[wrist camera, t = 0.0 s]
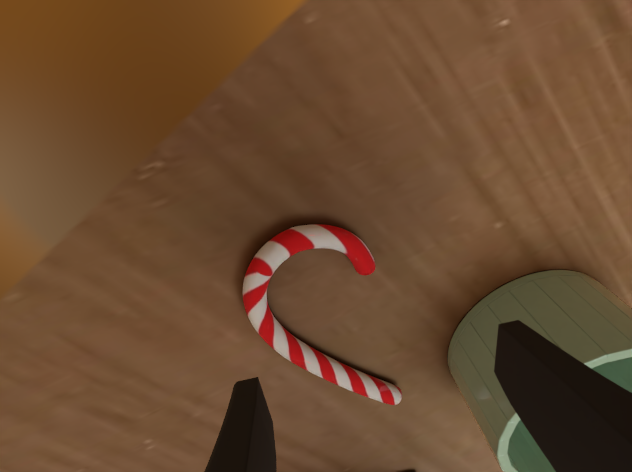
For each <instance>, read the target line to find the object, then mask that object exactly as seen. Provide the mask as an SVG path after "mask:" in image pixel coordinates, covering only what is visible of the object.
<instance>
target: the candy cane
mask: <svg viewBox="0 0 632 472" xmlns="http://www.w3.org/2000/svg"><path fill="white" fill-rule="evenodd" d="M314 248H329V249H335V250H338V251H340V252H342V253H344V254H345V255H346V256H347V257H348V258H349V259H350V260H351V262H352V264H353V266H354V268H355V270H356V271H357V272H358V273H359V274H361V275H369V274H371V273H373V272H374V270H375V261H374V259H373V256H372V254H371V253H370V251H369V249H368V248H367V246H366V245H365V244H364V243H363V241H362V240H361V239H360V238H358V237H357V236H356V235H354V234H353V233H351V232H349V231H347V230H345V229H342V228H339V227H336V226H331V225H322V224H310V225H301V226H296V227H292V228H290V229H287V230H285V231H283V232H281V233H279V234H278V235H276V236H275V237H273V238H272V239H271V240H269V241H268V242H267V243H266V244H265V245H264V246H263V247H262V248H261V249H260V250H259V251H258V252H257V254H256V255H255V256H254V258H253V259H252V261H251V263H250V265H249V267H248V269H247V272H246V275H245V278H244V283H243V302H244V306H245V310H246V313H247V315H248V318H249V320H250V322H251V324H252V325H253V327H254V328H255V330H256V331H257V332H258V334H259V335H260V336H261V337H262V338H263V339H264V341H265V342H266V343H268V344H269V345H270V346H271V347H272V348H273V349H274V350H275V351H277V352H278V353H279V354H281V355H282V356H283V357H285V358H286V359H288V360H289V361H291V362H293V363H294V364H296V365H298V366H300V367H301V368H303V369H305V370H307V371H309V372H311V373H313V374H315V375H317V376H319V377H321V378H323V379H325V380H328V381H330V382H332V383H334V384H336V385H339V386H341V387H343V388H346V389H348V390H350V391H353V392H355V393H358V394H361V395H363V396H366V397H369V398H371V399H374V400H377V401H380V402H383V403H387V404H391V405H397V404H399V402H400V401H401V399H402V392H401V389H400V388H399V387H397V386H395V385H393V384H390V383H388V382H385V381H383V380H380V379H377V378H375V377H372V376H370V375H367V374H365V373H362V372H360V371H358V370H355V369H353V368H351V367H349V366H347V365H344V364H342V363H340V362H338V361H336V360H334V359H332V358H330V357H328V356H326V355H324V354H323V353H321V352H319V351H317V350H315V349H313V348H312V347H310V346H308V345H306V344H305V343H303V342H302V341H300V340H299V339H297V338H296V337H294V336H293V335H292V334H290V333H289V332H288V331H287V330H286V329H285V328H284V327H283V326H282V325H281V324H280V323H279V322H278V321H277V320H276V318H275V317H274V316H273V314H272V312H271V310H270V308H269V305H268V301H267V288H268V284H269V281H270V279H271V277H272V275H273V273H274V272H275V270H276V269H277V268H278V267H279V265H280V264H282V263H283V262H284V261H285V260H286V259H288V258H289V257H291V256H292V255H294V254H295V253H298V252H300V251H303V250H308V249H314Z"/></svg>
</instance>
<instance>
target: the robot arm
mask: <svg viewBox="0 0 632 472" xmlns="http://www.w3.org/2000/svg"><path fill="white" fill-rule="evenodd" d="M494 373H495V375H496V377H497V379H498V381H499V383H500V385H501V387H502V389H503V391H504V393H505V395H506V397H507V398H508V400H509V402H510V404H511V406H512V407H513V409H514V410H515V412H516V413H517V415H518V416H519V418H520V419H521V421H522V422H523V424H524V425H525V427H526V428H527V430H528V431H529V433H530V434H531V436H532V437H533V439H534V440H535V442H536V443H537V445H538V446H539V448H540V449H541V451H542V452H543V454H544V455H545V456H546V458H547V459H548V461H549V462H550V464H551V465H552V467H553V468H554V470H555V471H556V472H632V393H631V392H629V391H628V390H626V389H624V388H623V387H621V386H619V385H617V384H616V383H614V382H612V381H611V380H609V379H607V378H606V377H604V376H603V375H601V374H599V373H598V372H596V371H594V370H593V369H591V368H590V367H588V366H587V365H585V364H584V363H582V362H580V361H579V360H577V359H576V358H574V357H573V356H571V355H570V354H568V353H567V352H565V351H564V350H562V349H561V348H559V347H558V346H556V345H555V344H553V343H552V342H550V341H549V340H547V339H546V338H544V337H543V336H542V335H540V334H539V333H537V332H536V331H534V330H533V329H531V328H530V327H528V326H527V325H525V324H524V323H522V322H521V321H519V320H515V321H511V322H506V323H502V324H499V325H498V335H497V345H496V356H495V366H494ZM205 472H276V450H275V440H274V430H273V421H272V418H271V415H270V412H269V409H268V406H267V403H266V400H265V397H264V394H263V391H262V388H261V385H260V382H259V379H258V377H256V378H252V379H247V380H243V381H238V382H236V384H235V385H234V388H233V392H232V395H231V399H230V403H229V406H228V409H227V412H226V416H225V419H224V422H223V424H222V427H221V430H220V433H219V436H218V438H217V441H216V444H215V447H214V449H213V452H212V455H211V457H210V460H209V462H208V465H207V467H206V469H205Z"/></svg>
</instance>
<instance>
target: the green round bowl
mask: <svg viewBox="0 0 632 472" xmlns="http://www.w3.org/2000/svg"><path fill="white" fill-rule="evenodd" d="M515 320H519V321H521V322H522V323H524V324H525V325H527V326H528V327H530V328H531V329H533V330H534V331H536V332H537V333H539V334H540V335H542V336H543V337H544V338H546V339H547V340H549V341H550V342H552V343H553V344H555V345H556V346H558V347H559V348H561V349H562V350H564V351H565V352H567V353H568V354H570V355H571V356H573V357H574V358H576V359H577V360H579V361H580V362H582V363H584V364H585V365H587V366H588V367H590V368H591V369H593V370H594V371H596V372H598V373H599V374H601V375H603V376H604V377H606V378H607V379H609V380H611V381H612V382H614V383H616V384H617V385H619V386H621V387H623V388H624V389H626V390H628V391H629V392H631V393H632V308H631V307H630V306H628V305H627V304H626V303H625V302H623V301H622V300H621V299H620V298H618V297H617V296H616V295H615V294H613V293H612V292H611V291H610V290H608V289H607V288H606V287H604V286H603V285H602V284H601V283H599V282H598V281H597V280H595V279H594V278H592V277H591V276H589V275H586V274H583V273H580V272H576V271H571V270H549V271H542V272H537V273H533V274H530V275H526V276H524V277H521V278H518V279H515V280H513V281H511V282H509V283H507V284H505V285H503V286H501V287H500V288H498V289H496V290H495V291H493V292H492V293H490V294H489V295H487V296H486V297H485V298H483V299H482V300H481V301H480V302H479V303H478V304H476V305H475V306H474V307H473V308H472V309H471V310H470V311H469V312H468V314H467V315H466V316H465V317H464V318H463V320H462V321H461V322H460V324H459V325H458V327H457V329H456V330H455V332H454V334H453V337H452V339H451V341H450V345H449V349H448V367H449V371H450V373H451V375H452V377H453V379H454V381H455V384H456V386H457V388H458V390H459V392H460V394H461V395H462V397H463V399H464V401H465V403H466V405H467V407H468V408H469V410H470V412H471V414H472V416H473V418H474V420H475V421H476V423H477V425H478V427H479V429H480V431H481V433H482V434H483V436H484V438H485V440H486V442H487V444H488V446H489V447H490V449H491V451H492V453H493V455H494V457H495V459H496V460H497V462H498V464H499V466H500V468H501V469H502V471H503V472H556V471H555V470H554V468H553V467H552V465H551V464H550V462H549V461H548V459H547V458H546V456H545V455H544V454H543V452H542V451H541V449H540V448H539V446H538V445H537V443H536V442H535V440H534V439H533V437H532V436H531V434H530V433H529V431H528V430H527V428H526V427H525V425H524V424H523V422H522V421H521V419H520V418H519V416H518V415H517V413H516V412H515V410H514V409H513V407H512V406H511V404H510V402H509V400H508V398H507V397H506V395H505V393H504V391H503V389H502V387H501V385H500V383H499V381H498V379H497V377H496V375H495V373H494V366H495V356H496V345H497V335H498V325H499V324H502V323H506V322H511V321H515Z"/></svg>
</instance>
